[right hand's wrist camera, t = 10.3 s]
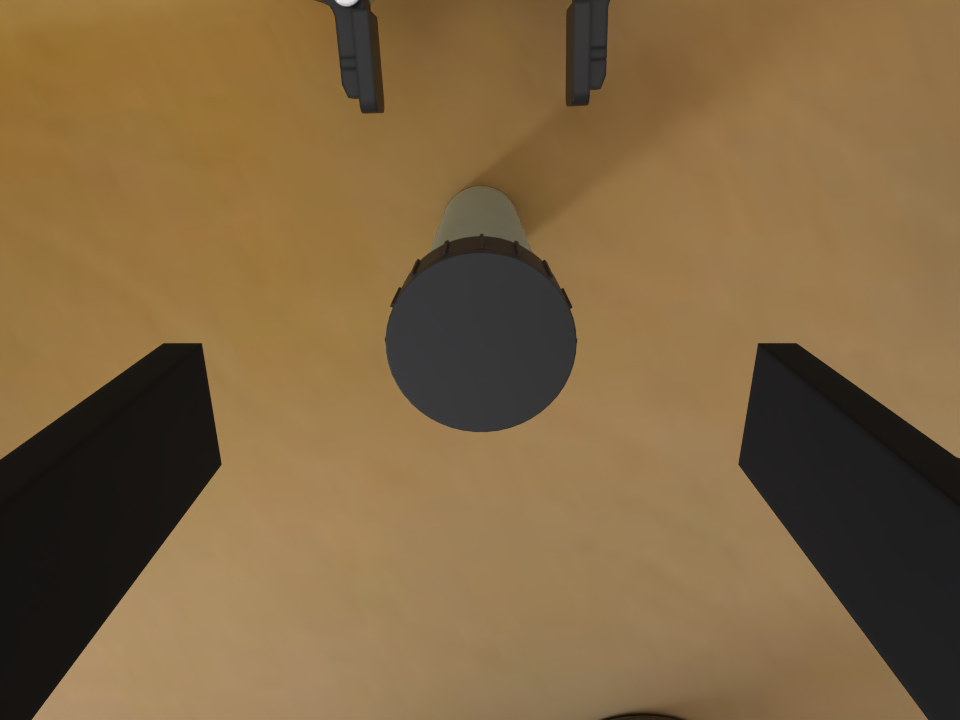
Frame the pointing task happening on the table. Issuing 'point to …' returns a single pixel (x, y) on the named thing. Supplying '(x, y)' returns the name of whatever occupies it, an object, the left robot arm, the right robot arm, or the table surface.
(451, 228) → the bottle
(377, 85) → the left robot arm
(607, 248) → the table surface
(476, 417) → the lid
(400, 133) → the table surface
